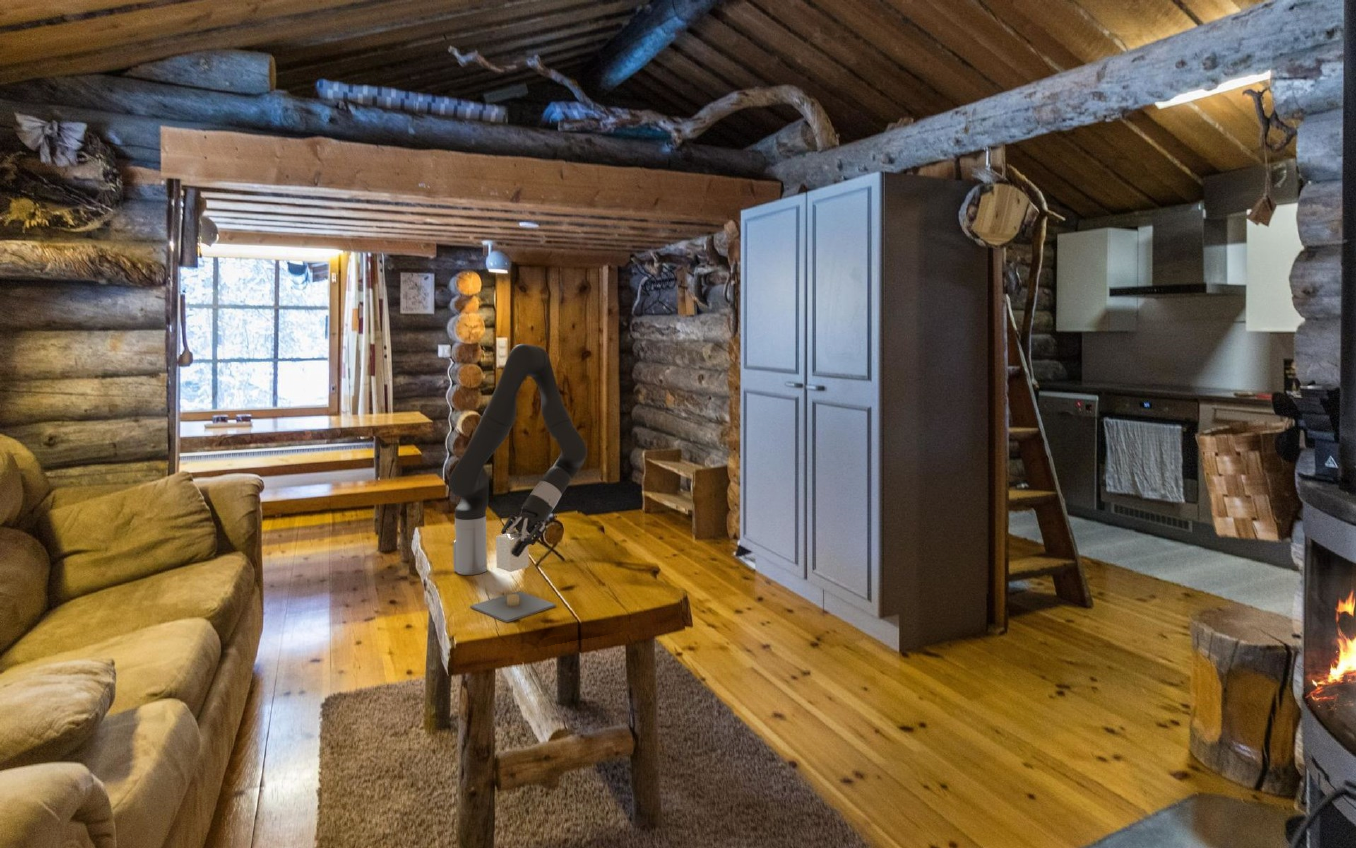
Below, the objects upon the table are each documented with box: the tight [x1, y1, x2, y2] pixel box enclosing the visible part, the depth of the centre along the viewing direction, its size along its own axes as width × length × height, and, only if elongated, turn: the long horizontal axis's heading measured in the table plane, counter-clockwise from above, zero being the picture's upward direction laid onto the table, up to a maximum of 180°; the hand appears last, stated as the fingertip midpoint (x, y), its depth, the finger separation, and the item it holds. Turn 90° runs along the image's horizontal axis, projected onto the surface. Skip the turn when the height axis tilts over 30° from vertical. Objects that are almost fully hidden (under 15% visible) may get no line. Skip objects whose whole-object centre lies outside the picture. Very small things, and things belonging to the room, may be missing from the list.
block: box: [495, 532, 530, 573], centre depth 204 cm, size 6×6×8 cm
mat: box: [470, 590, 557, 624], centre depth 206 cm, size 16×16×3 cm
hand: (507, 552), depth 203 cm, fingers closed on block, 6 cm apart
